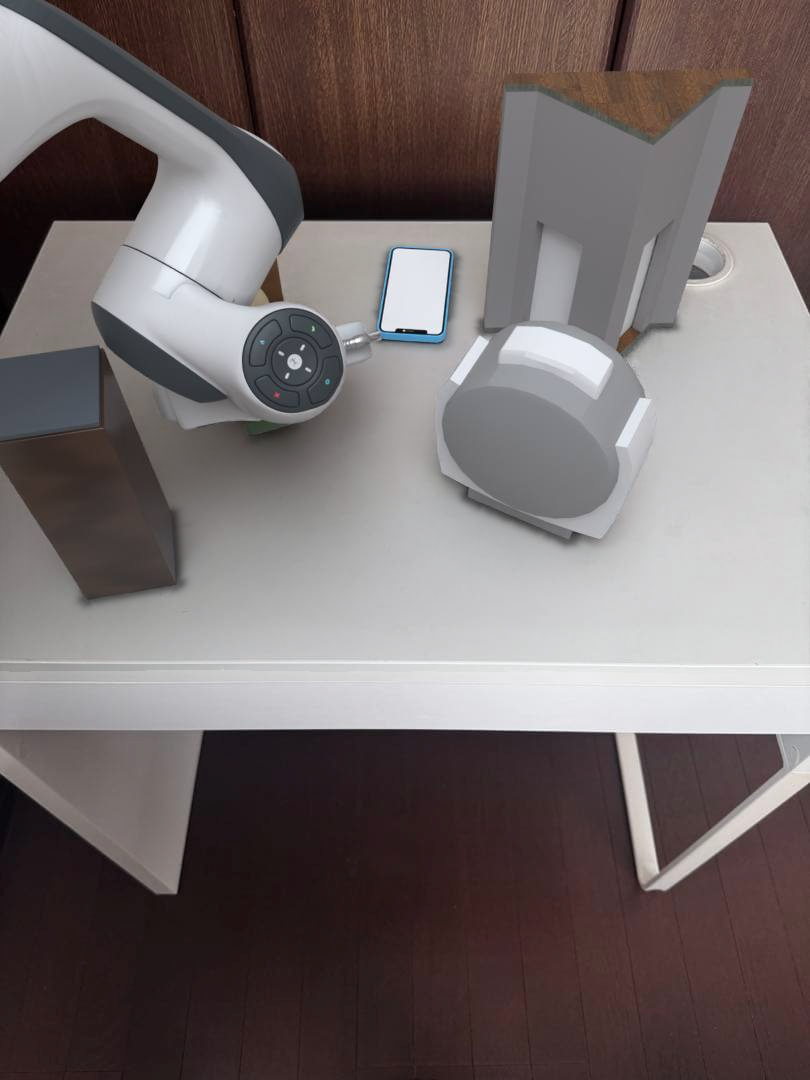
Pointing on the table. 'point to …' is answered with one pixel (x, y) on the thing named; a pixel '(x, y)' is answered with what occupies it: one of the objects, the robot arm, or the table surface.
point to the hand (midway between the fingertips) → (256, 368)
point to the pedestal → (97, 499)
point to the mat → (50, 392)
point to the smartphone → (416, 294)
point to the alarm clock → (545, 427)
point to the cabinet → (606, 194)
